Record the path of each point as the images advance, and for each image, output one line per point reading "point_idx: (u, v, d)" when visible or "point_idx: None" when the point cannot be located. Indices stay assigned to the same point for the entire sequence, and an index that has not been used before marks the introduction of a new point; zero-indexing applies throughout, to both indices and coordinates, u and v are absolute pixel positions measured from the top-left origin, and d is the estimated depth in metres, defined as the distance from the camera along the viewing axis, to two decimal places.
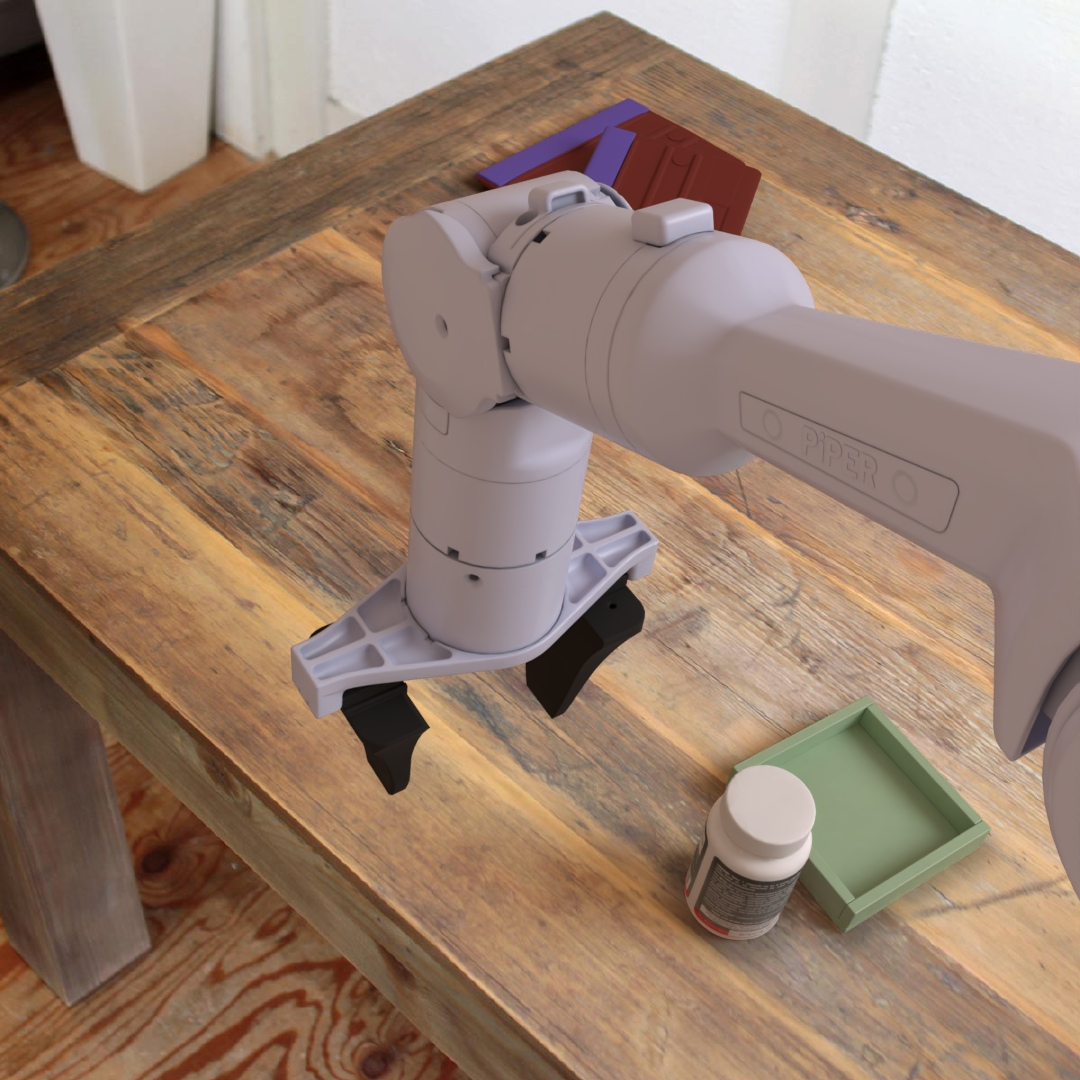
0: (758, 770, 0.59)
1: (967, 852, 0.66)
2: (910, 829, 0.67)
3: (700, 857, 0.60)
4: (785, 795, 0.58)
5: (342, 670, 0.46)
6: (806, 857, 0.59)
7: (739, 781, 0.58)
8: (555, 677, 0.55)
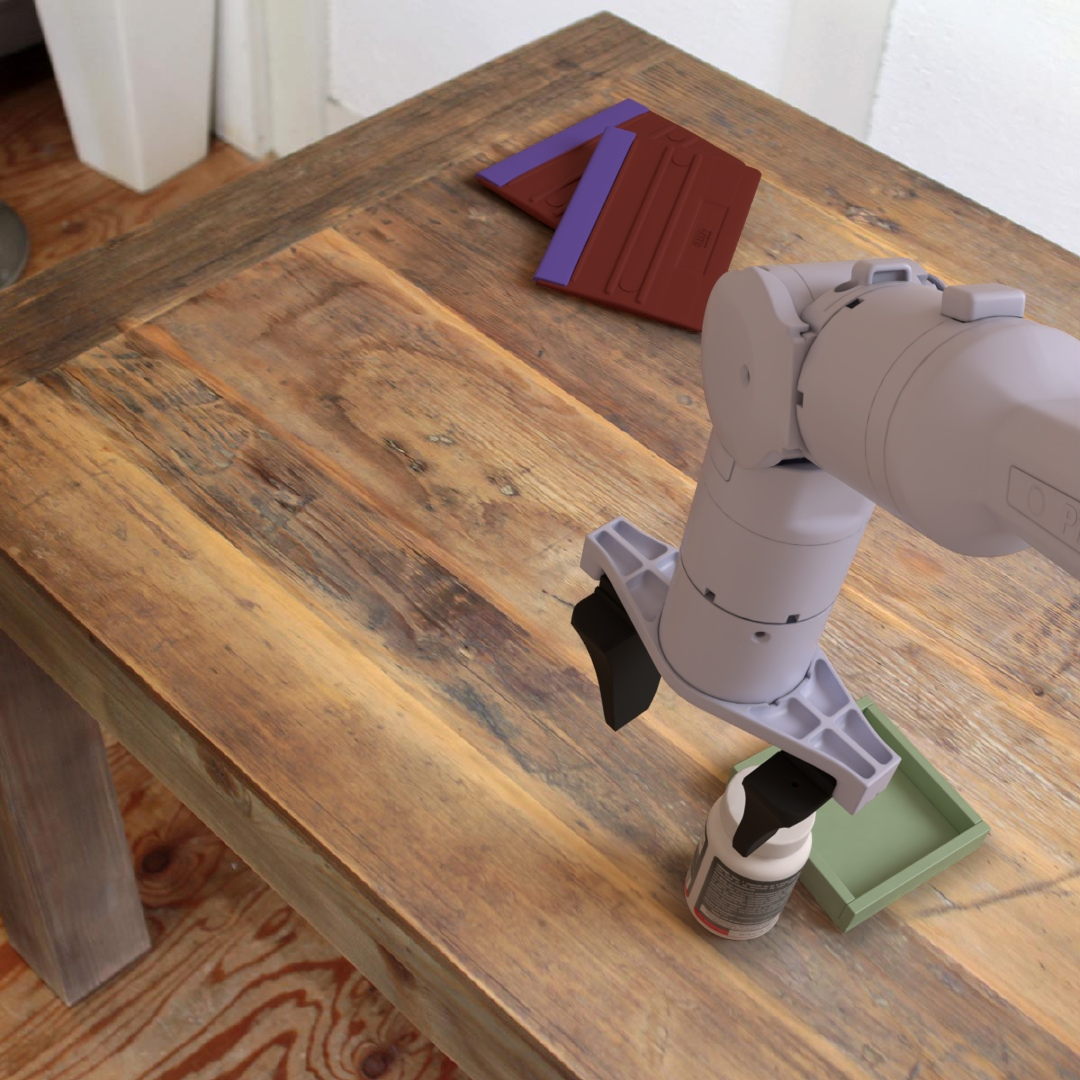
0: None
1: (967, 852, 0.66)
2: (910, 829, 0.67)
3: (700, 857, 0.60)
4: None
5: (615, 556, 0.53)
6: (806, 857, 0.59)
7: (739, 781, 0.58)
8: None
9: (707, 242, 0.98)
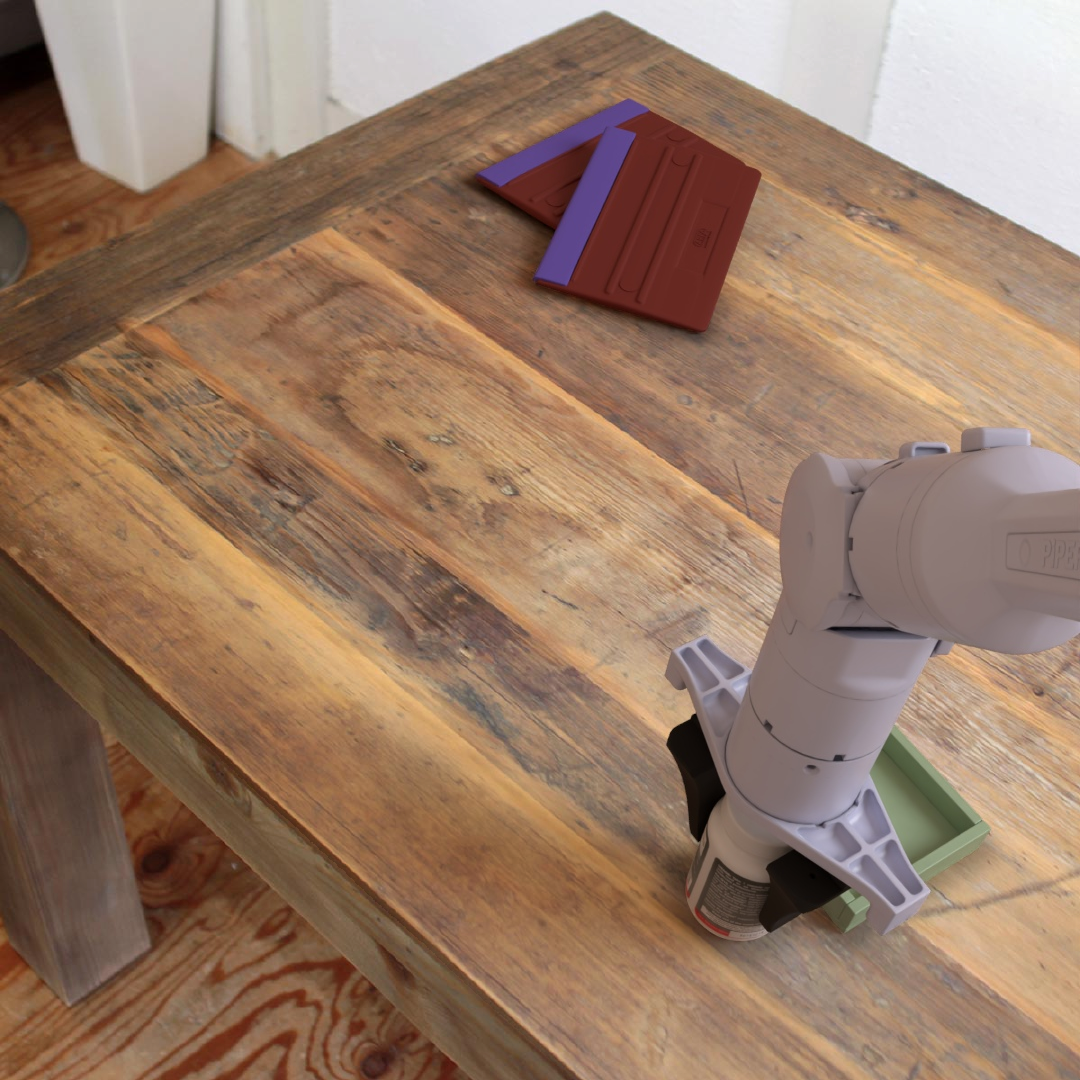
0: None
1: (967, 852, 0.66)
2: (910, 829, 0.67)
3: (701, 858, 0.60)
4: None
5: (696, 672, 0.59)
6: None
7: None
8: None
9: (707, 242, 0.98)
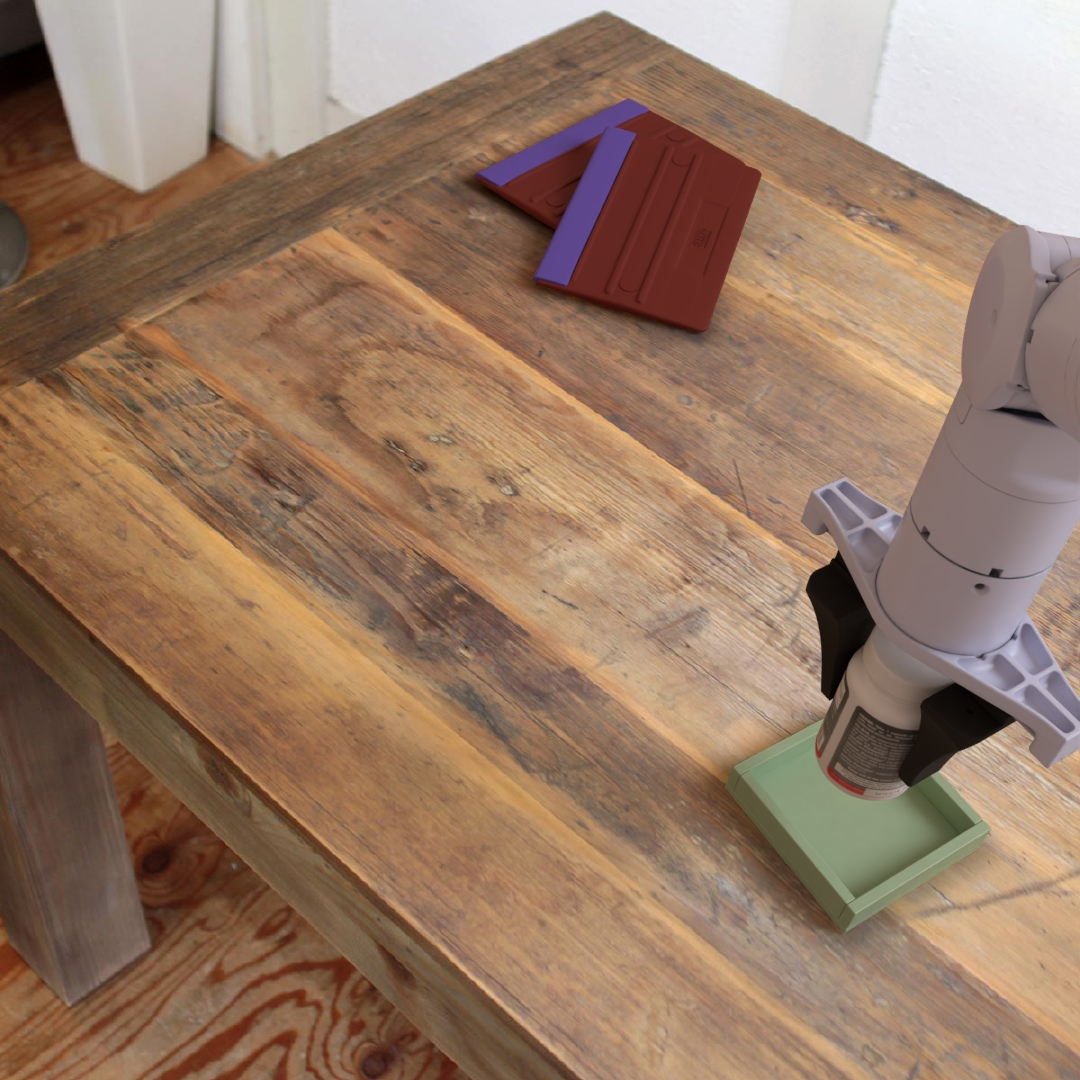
0: None
1: (967, 852, 0.66)
2: (910, 829, 0.67)
3: (838, 711, 0.58)
4: None
5: (836, 513, 0.57)
6: None
7: None
8: None
9: (707, 242, 0.98)
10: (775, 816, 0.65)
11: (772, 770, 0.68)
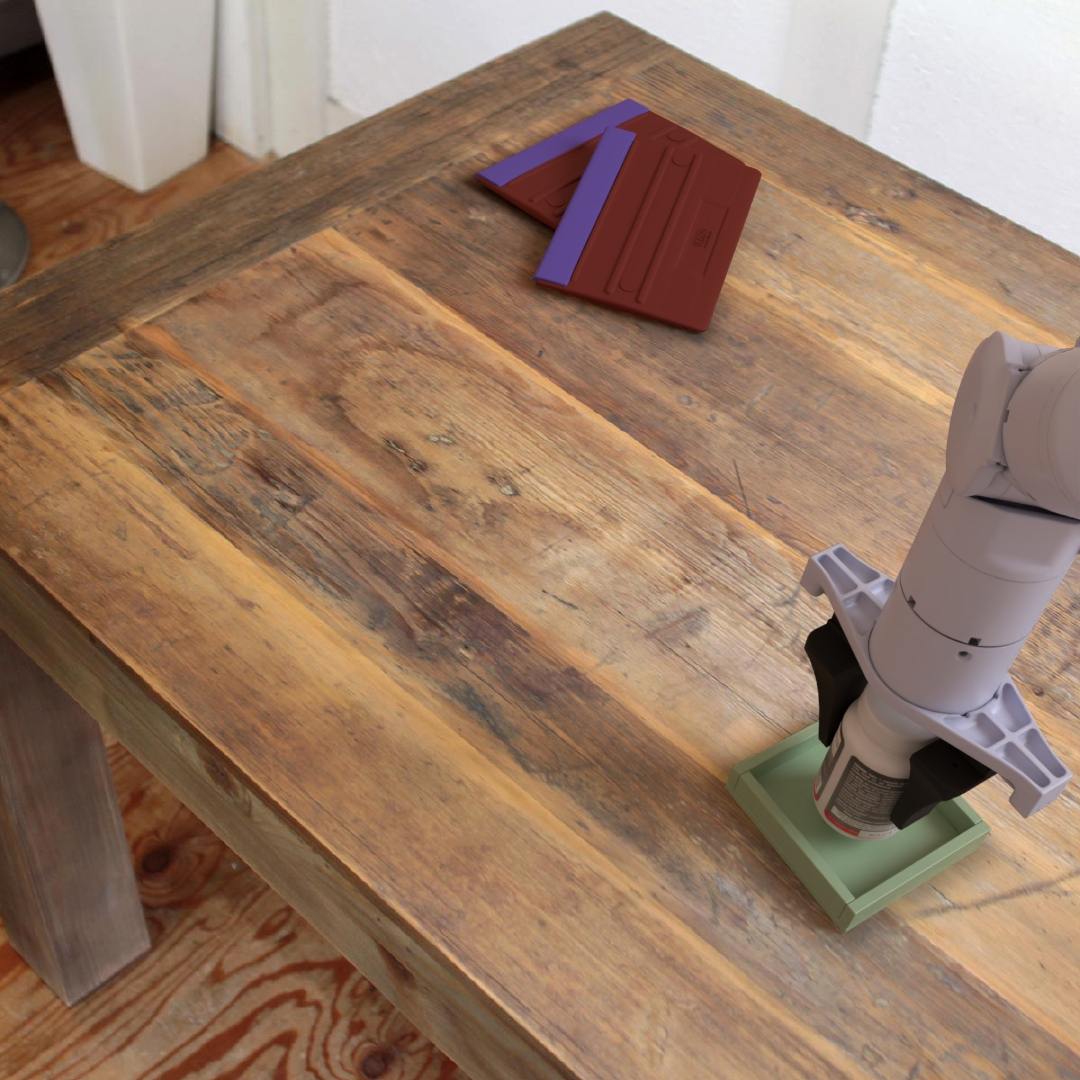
0: None
1: (967, 852, 0.66)
2: (910, 829, 0.67)
3: (834, 759, 0.63)
4: None
5: (833, 577, 0.61)
6: None
7: None
8: None
9: (707, 242, 0.98)
10: (775, 816, 0.65)
11: (772, 770, 0.68)
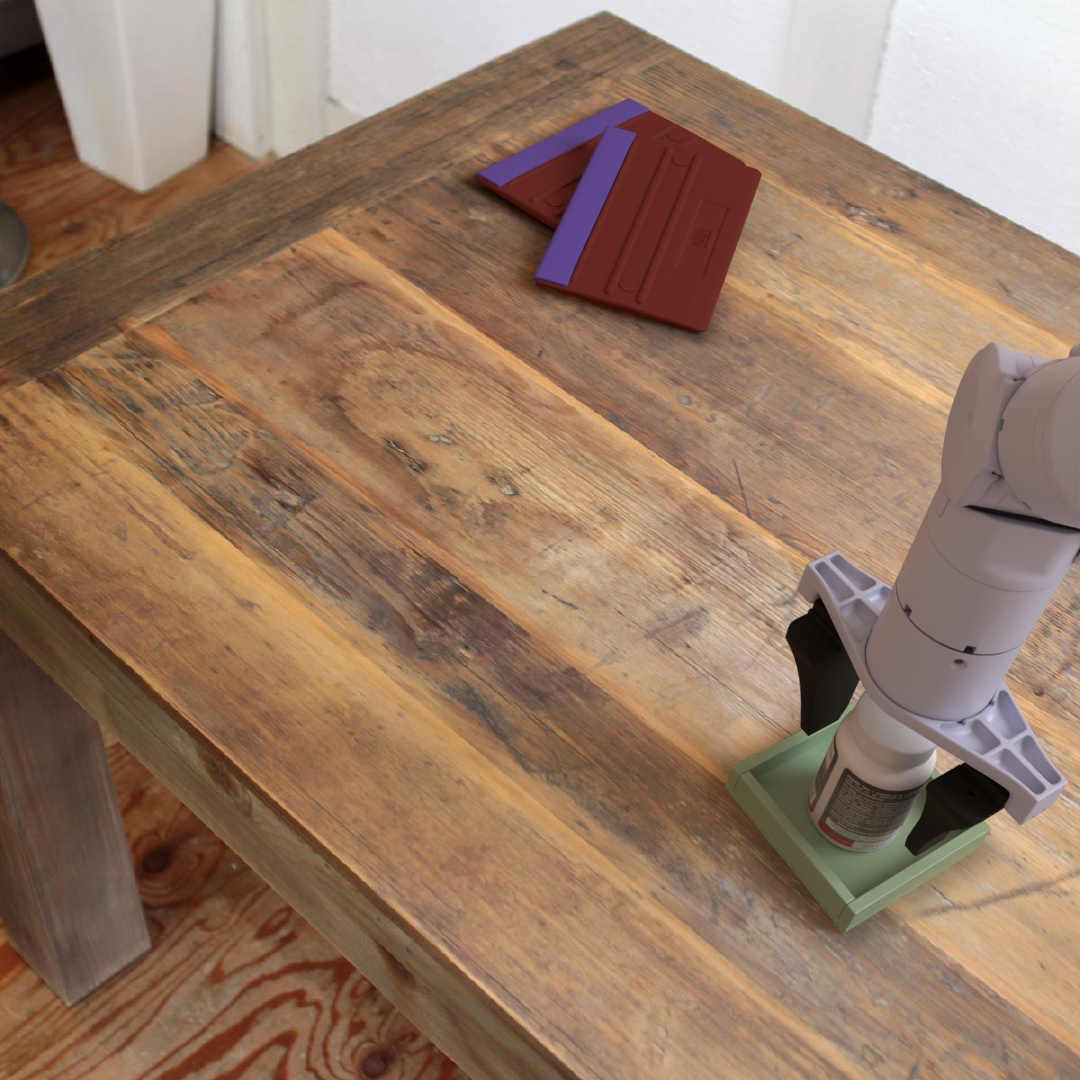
0: None
1: (967, 852, 0.66)
2: (910, 829, 0.67)
3: (828, 771, 0.64)
4: None
5: (830, 585, 0.62)
6: (932, 769, 0.62)
7: (869, 696, 0.62)
8: None
9: (707, 242, 0.98)
10: (775, 816, 0.65)
11: (772, 770, 0.68)
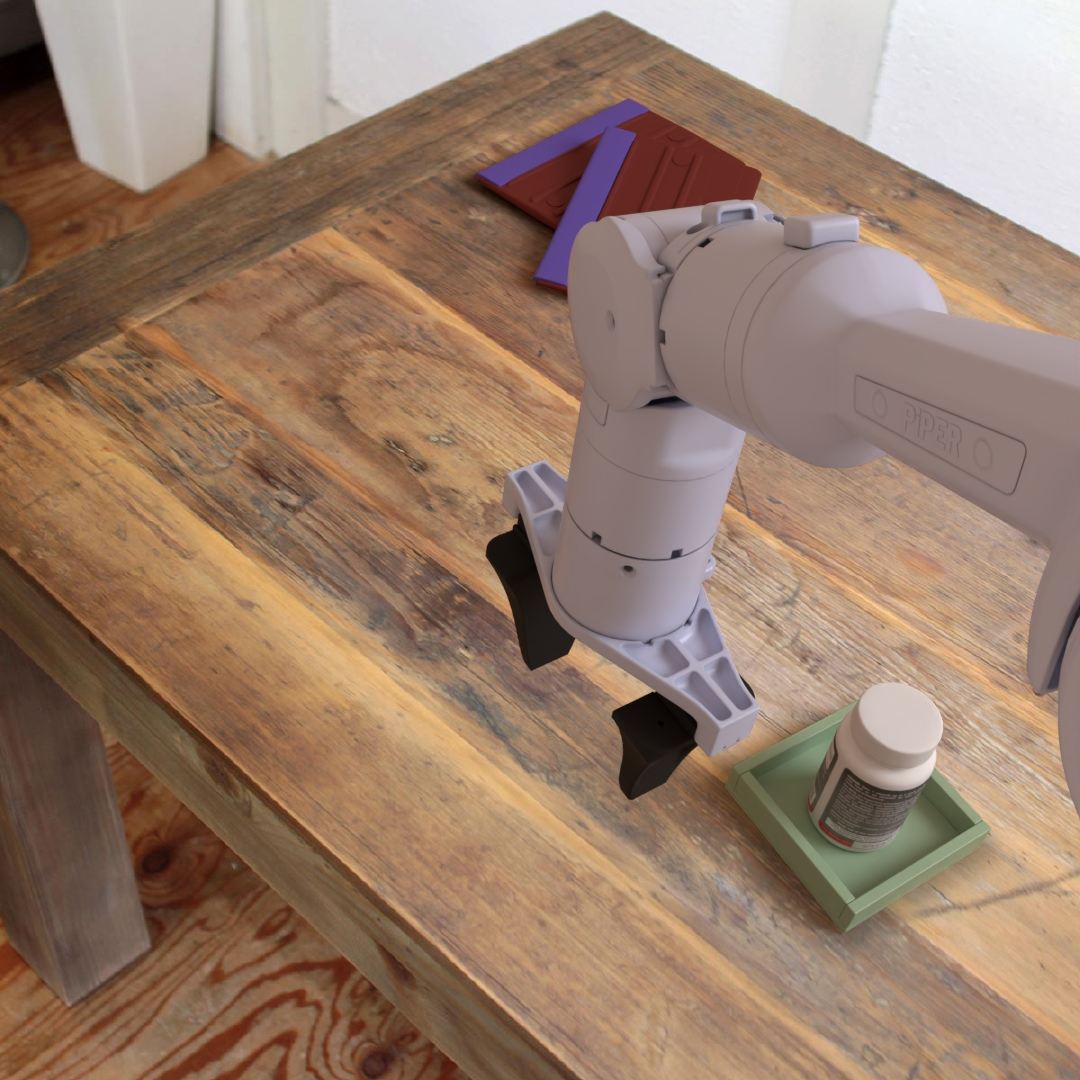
0: (886, 686, 0.62)
1: (967, 852, 0.66)
2: (910, 829, 0.67)
3: (828, 771, 0.64)
4: (913, 709, 0.61)
5: (531, 496, 0.55)
6: (932, 769, 0.62)
7: (869, 696, 0.62)
8: None
9: None
10: (775, 816, 0.65)
11: (772, 770, 0.68)
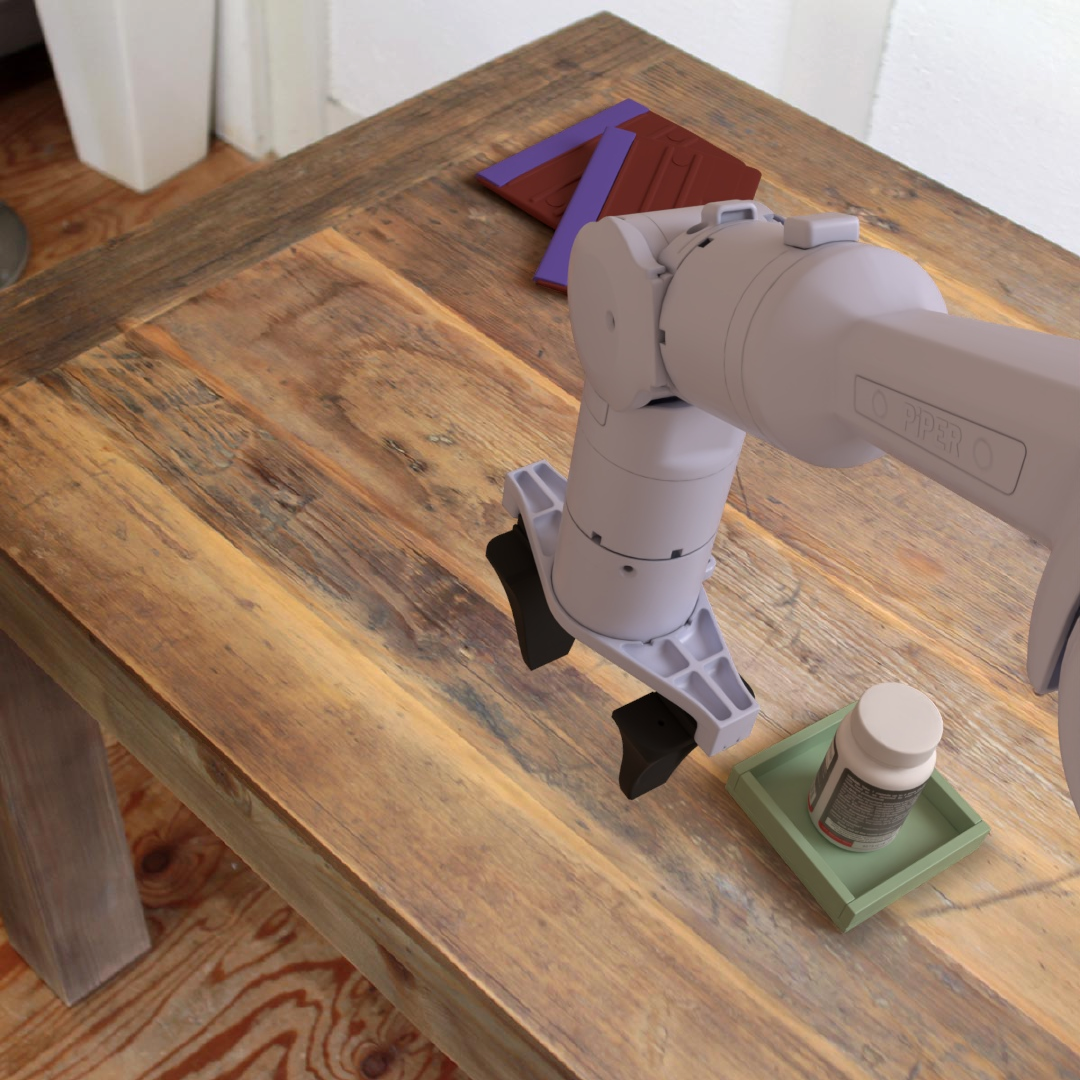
0: (886, 686, 0.62)
1: (967, 852, 0.66)
2: (910, 829, 0.67)
3: (828, 771, 0.64)
4: (913, 709, 0.61)
5: (531, 496, 0.55)
6: (932, 769, 0.62)
7: (869, 696, 0.62)
8: None
9: None
10: (775, 816, 0.65)
11: (772, 770, 0.68)
